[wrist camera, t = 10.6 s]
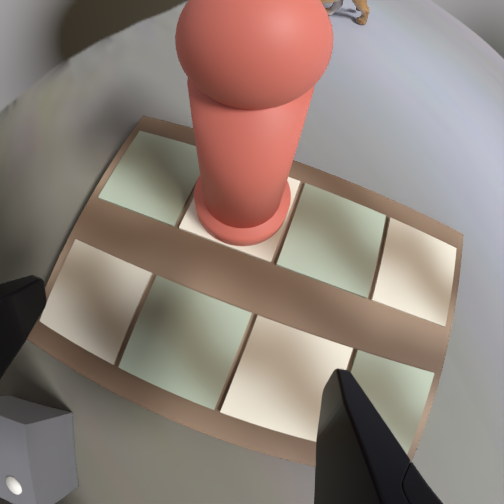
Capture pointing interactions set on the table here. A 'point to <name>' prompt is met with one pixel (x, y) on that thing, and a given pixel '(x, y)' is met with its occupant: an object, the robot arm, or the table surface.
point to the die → (35, 452)
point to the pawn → (249, 105)
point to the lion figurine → (360, 4)
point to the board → (251, 301)
